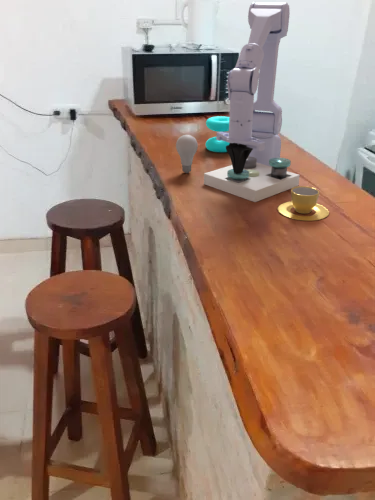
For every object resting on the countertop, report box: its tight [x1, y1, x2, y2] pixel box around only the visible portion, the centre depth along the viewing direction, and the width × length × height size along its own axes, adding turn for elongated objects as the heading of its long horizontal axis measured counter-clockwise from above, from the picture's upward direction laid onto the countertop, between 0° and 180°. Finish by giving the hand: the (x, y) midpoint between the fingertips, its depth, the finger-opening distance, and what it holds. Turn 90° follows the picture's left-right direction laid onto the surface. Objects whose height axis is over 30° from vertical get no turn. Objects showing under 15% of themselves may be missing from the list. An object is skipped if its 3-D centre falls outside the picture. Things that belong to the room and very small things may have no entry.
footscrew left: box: [269, 157, 292, 180], centre depth 134 cm, size 6×6×5 cm
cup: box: [277, 185, 330, 222], centre depth 120 cm, size 12×12×5 cm
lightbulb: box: [175, 134, 199, 174], centre depth 143 cm, size 6×6×11 cm
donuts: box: [205, 115, 230, 153], centre depth 166 cm, size 10×10×10 cm
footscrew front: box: [227, 169, 249, 183], centre depth 133 cm, size 6×6×5 cm
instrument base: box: [203, 156, 300, 203], centre depth 136 cm, size 18×18×5 cm
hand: (238, 172), depth 132 cm, fingers closed, pressing on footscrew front
